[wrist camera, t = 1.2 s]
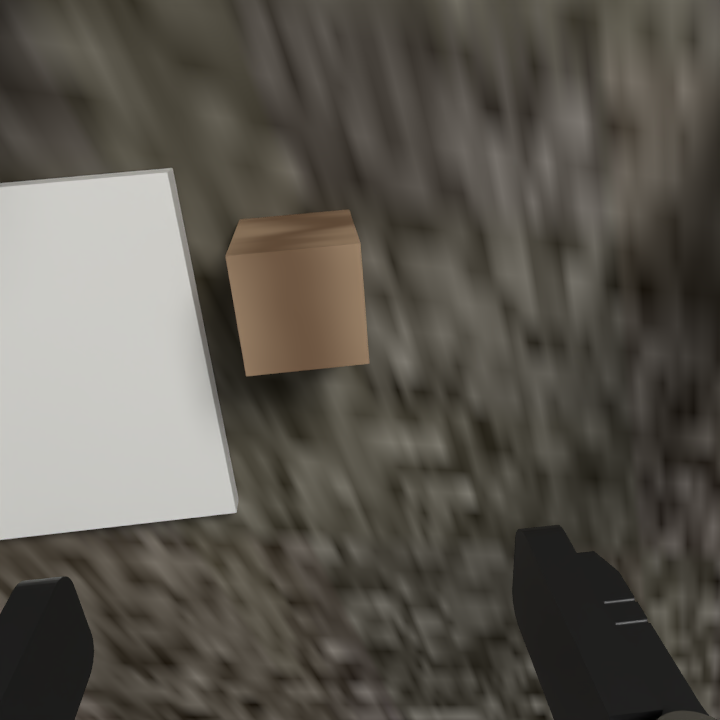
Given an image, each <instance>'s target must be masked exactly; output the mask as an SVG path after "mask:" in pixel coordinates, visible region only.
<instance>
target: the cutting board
mask: <svg viewBox="0 0 720 720" xmlns="http://www.w3.org/2000/svg"><path fill="white" fill-rule="evenodd" d="M237 506H238V494H237V489H236V484H235V479H234V474H233V469H232V464H231V459H230V454H229V449H228V444H227V439H226V433H225V428H224V423H223V418H222V413H221V408H220V403H219V398H218V393H217V388H216V383H215V378H214V373H213V368H212V363H211V358H210V353H209V348H208V343H207V338H206V333H205V328H204V323H203V318H202V313H201V308H200V303H199V298H198V293H197V288H196V283H195V278H194V273H193V268H192V263H191V258H190V253H189V248H188V243H187V238H186V233H185V228H184V223H183V218H182V213H181V208H180V203H179V198H178V192H177V187H176V182H175V177H174V172H173V168H166V169H155V170H144V171H132V172H121V173H110V174H98V175H87V176H76V177H64V178H53V179H42V180H30V181H19V182H8V183H0V540H4V539H12V538H21V537H30V536H38V535H47V534H56V533H65V532H73V531H82V530H91V529H99V528H108V527H117V526H125V525H134V524H143V523H151V522H160V521H169V520H178V519H186V518H195V517H204V516H212V515H221V514H230V513H237Z"/></svg>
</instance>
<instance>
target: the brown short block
mask: <svg viewBox="0 0 720 720" xmlns="http://www.w3.org/2000/svg"><path fill="white" fill-rule="evenodd" d="M225 257H226V262H227V268H228V274H229V280H230V286H231V291H232V297H233V303H234V309H235V314H236V320H237V326H238V332H239V338H240V343H241V349H242V355H243V361H244V366H245V372H246V376H256V375H265V374H275V373H284V372H294V371H303V370H313V369H322V368H332V367H342V366H351V365H361V364H369V352H368V339H367V325H366V312H365V298H364V285H363V271H362V258H361V244H360V241H359V238H358V235H357V232H356V229H355V226H354V223H353V220H352V217H351V214H350V211H349V210H338V211H327V212H317V213H306V214H295V215H284V216H273V217H263V218H252V219H241V220H239V222H238V225H237V228H236V230H235V233H234V235H233V238H232V240H231V243H230V246H229V248H228V251H227V253H226V256H225Z"/></svg>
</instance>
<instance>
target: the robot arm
mask: <svg viewBox="0 0 720 720" xmlns="http://www.w3.org/2000/svg"><path fill="white" fill-rule="evenodd" d="M512 595H513V605H514V610H515V615H516V619H517V623H518V626H519V629H520V631H521V634H522V636H523V639H524V642H525V644H526V647H527V650H528V652H529V655H530V657H531V660H532V663H533V665H534V668H535V671H536V673H537V676H538V679H539V681H540V684H541V686H542V689H543V692H544V694H545V697H546V700H547V702H548V705H549V707H550V710H551V713H552V715H553V718H554V720H717V719H715V718H713V717H711V716H709V715H708V714H707V712H706V711H705V710H704V708H703V707H702V706H701V704H700V703H699V701H698V700H697V698H696V696H695V695H694V693H693V691H692V690H691V688H690V687H689V685H688V683H687V682H686V680H685V678H684V677H683V675H682V674H681V672H680V670H679V669H678V667H677V665H676V664H675V662H674V661H673V659H672V657H671V656H670V654H669V653H668V651H667V649H666V648H665V646H664V644H663V643H662V641H661V640H660V638H659V636H658V635H657V633H656V631H655V630H654V628H653V627H652V625H651V623H648V621H647V617H646V615H645V614H644V612H643V610H642V609H641V607H640V605H639V604H638V602H635V600H634V596H633V594H632V593H631V591H630V589H629V588H628V586H627V584H626V583H625V581H624V580H623V578H622V576H621V575H620V573H619V572H618V571H617V570H616V569H615V568H614V567H612V566H611V565H610V564H609V563H608V562H606V561H605V560H604V559H603V558H601V557H600V556H599V555H598V554H597V553H595V552H594V551H592V552H583V553H576V551H575V549H574V548H573V546H572V544H571V542H570V540H569V539H568V537H567V535H566V533H565V532H564V530H563V529H562V527H561V526H559V525H553V526H544V527H534V528H525V529H518V530H517V532H516V537H515V553H514V570H513V587H512ZM93 657H94V645H93V638H92V634H91V631H90V629H89V626H88V623H87V620H86V618H85V615H84V612H83V609H82V606H81V604H80V601H79V598H78V595H77V593H76V590H75V587H74V585H73V582H72V581H71V579H70V578H69V577H56V578H46V579H37V580H28V581H22V582H20V583H19V584H18V585H17V586H16V587H15V588H14V590H13V592H12V594H11V595H10V597H9V599H8V601H7V603H6V605H5V606H4V608H3V610H2V612H1V614H0V720H75V717H76V714H77V711H78V708H79V705H80V703H81V700H82V697H83V694H84V691H85V688H86V685H87V682H88V680H89V677H90V674H91V670H92V665H93Z"/></svg>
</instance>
